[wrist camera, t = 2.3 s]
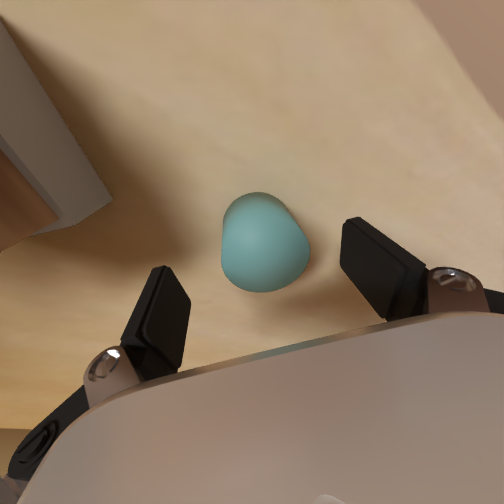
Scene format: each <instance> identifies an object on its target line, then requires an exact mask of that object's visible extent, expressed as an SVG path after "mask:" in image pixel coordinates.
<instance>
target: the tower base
mask: <svg viewBox="0 0 504 504" xmlns="http://www.w3.org/2000/svg"><path fill="white" fill-rule="evenodd" d="M0 149H1V150H2V151H3V152H4V154H5V155H6V156H7V157H8V158H9V160H10V161H11V162H12V163H13V164H14V165H15V167H16V168H17V169H18V170H19V171H20V172H21V174H22V175H23V176H24V177H25V178H26V180H27V181H28V182H29V183H30V184H31V185H32V187H33V188H34V189H35V190H36V191H37V192H38V194H39V195H40V196H41V197H42V198H43V200H44V201H45V202H46V203H47V204H48V205H49V207H50V208H51V209H52V210H53V211H54V212H55V214H56V215H57V216H58V217H59V218H60V219H58V220H57V221H55V222H53V223H51V224H50V225H48V226H46V227H44V228H42V229H41V230H39V231H37V232H35V233H33V234H32V235H30V236H33V235H37V234H42V233H46V232H50V231H54V230H58V229H63V228H67V227H71V226H75V225H76V224H78V223H79V222H81V221H82V220H84V219H85V218H87V217H88V216H90V215H91V214H93V213H94V212H96V211H97V210H99V209H101V208H102V207H104V206H105V205H107V204H108V203H110V202H111V201H113V198H112V197H111V195H110V194H109V192H108V190H107V189H106V187H105V186H104V184H103V182H102V181H101V179H100V178H99V176H98V174H97V173H96V171H95V170H94V168H93V167H92V165H91V163H90V162H89V160H88V159H87V157H86V155H85V154H84V152H83V151H82V149H81V147H80V146H79V144H78V143H77V141H76V140H75V138H74V136H73V135H72V133H71V132H70V130H69V128H68V127H67V125H66V124H65V122H64V120H63V119H62V117H61V116H60V114H59V112H58V111H57V109H56V108H55V106H54V105H53V103H52V101H51V100H50V98H49V97H48V95H47V93H46V92H45V90H44V89H43V87H42V85H41V84H40V82H39V81H38V79H37V78H36V76H35V74H34V73H33V71H32V70H31V68H30V66H29V65H28V63H27V62H26V60H25V58H24V57H23V55H22V54H21V52H20V50H19V49H18V47H17V46H16V44H15V43H14V41H13V39H12V38H11V36H10V35H9V33H8V31H7V30H6V28H5V27H4V25H3V23H2V22H1V20H0ZM28 237H29V236H28Z"/></svg>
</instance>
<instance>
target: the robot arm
mask: <svg viewBox="0 0 504 504" xmlns="http://www.w3.org/2000/svg"><path fill="white" fill-rule="evenodd" d="M340 266H341V268H342V269H343V271H344V272H345V273H346V275H347V276H348V277H349V278H350V280H351V281H352V282H353V283H354V285H355V286H356V287H357V288H358V290H359V291H360V292H361V293H362V295H363V296H364V297H365V298H366V300H367V301H368V302H369V303H370V305H371V306H372V307H373V309H374V310H375V311H376V312H377V314H378V315H379V316H380V317H381V318H385V319H386V320H387V322H386V323H381V324H377V325H372V326H368V327H364V328H360V329H355V330H351V331H347V332H343V333H338V334H334V335H330V336H326V337H321V338H317V339H313V340H309V341H305V342H300V343H296V344H292V345H288V346H284V347H280V348H275V349H271V350H267V351H263V352H259V353H255V354H251V355H246V356H242V357H238V358H234V359H230V360H226V361H222V362H218V363H214V364H210V365H206V366H202V367H198V368H194V369H190V370H186V371H182V372H178V373H177V371H178V368H180V366H181V364H182V358H183V352H184V346H185V340H186V334H187V327H188V321H189V315H190V309H191V301H190V299H189V297H188V295H187V294H186V292H185V290H184V289H183V287H182V286H181V284H180V282H179V281H178V279H177V278H176V276H175V274H174V273H173V271H172V269H171V268H170V267H167V266H165V265H163V266H159V267H155V268H153V269H152V271H151V273H150V276H149V278H148V280H147V282H146V284H145V286H144V289H143V291H142V293H141V295H140V297H139V300H138V302H137V304H136V306H135V308H134V311H133V313H132V315H131V317H130V319H129V321H128V324H127V326H126V328H125V330H124V332H123V335H122V337H121V339H120V340H121V344H120V346H113V347H110V348H108V349H106V350H104V351H103V352H101V353H100V354H99V355H98V356H96V357H95V358H94V359H93V361H92V362H91V363H90V364H89V366H88V367H87V369H86V371H85V374H84V377H83V382H84V385H82V386H81V387H80V388H79V389H78V390H77V391H76V392H75V393H73V394H72V395H71V396H70V397H69V398H68V399H67V400H65V401H64V402H63V403H62V404H61V405H60V406H59V407H58V408H56V409H55V410H54V411H53V412H52V413H51V414H50V415H49V416H47V417H46V418H45V419H44V420H43V421H42V422H41V423H39V424H38V425H37V426H36V427H35V428H34V429H33V430H32V431H31V432H30V433H29V434H28V435H27V436H26V437H25V438H24V440H23V441H22V442H21V444H20V445H19V446H18V448H17V449H16V451H15V452H14V454H13V456H12V458H11V461H10V463H9V467H8V473H7V474H6V475H5V476H2V475H0V504H504V293H502V292H498V291H494V290H489V289H485V288H483V285H482V284H481V282H480V281H479V280H478V279H477V278H476V277H475V276H473V275H471V274H470V273H468V272H465V271H463V270H460V269H456V268H452V267H436V268H433V269H431V270H428V269H427V268H426V267H425V266H426V264H424V263H423V262H422V261H420V260H419V259H417V258H416V257H415V256H413V255H412V254H411V253H409V252H408V251H406V250H405V249H404V248H402V247H401V246H399V245H398V244H397V243H395V242H394V241H392V240H391V239H390V238H388V237H387V236H386V235H384V234H383V233H381V232H380V231H379V230H377V229H376V228H374V227H373V226H372V225H370V224H369V223H368V222H366V221H365V220H363V219H362V218H361V217H355V218H351V219H347V220H346V222H345V223H344V224H343V227H342V240H341V252H340Z"/></svg>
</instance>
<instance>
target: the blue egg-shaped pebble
mask: <svg viewBox="0 0 504 504" xmlns="http://www.w3.org/2000/svg"><path fill="white" fill-rule="evenodd" d="M309 257H310V246H309V242H308V240H307V238H306V236H305V234H304V233H303V232H302V230H301V229H300V227H299V226H298V224H297V223H296V222H295V220H294V219H293V217H292V216H291V214H290V213H289V212H288V210H287V209H286V207H285V206H284V205H283V203H282V202H281V201H280V200H279V199H277V198H276V197H274V196H272V195H270V194H267V193H262V192H254V193H248V194H245V195H243V196H241V197H239V198H238V199H236V200H235V201H234V202H233V203H232V204H231V205H230V206H229V207H228V209H227V211H226V213H225V215H224V219H223V234H222V254H221V263H222V268H223V271H224V273H225V275H226V277H227V278H228V279H229V280H230V281H231V282H232V283H233V284H234V285H236V286H237V287H239V288H241V289H244V290H247V291H251V292H271V291H275V290H278V289H281V288H283V287H285V286H287V285H289V284H291V283H292V282H293V281H295V280H296V279H297V278H298V277H299V276H300V275H301V274H302V273H303V271H304V270H305V268H306V266H307V264H308V261H309Z"/></svg>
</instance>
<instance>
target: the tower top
mask: <svg viewBox="0 0 504 504" xmlns="http://www.w3.org/2000/svg"><path fill="white" fill-rule="evenodd" d="M58 219H60V218H59V217H58V216H57V215H56V214H55V212H54V211H53V210H52V209H51V208H50V207H49V205H48V204H47V203H46V202H45V201H44V200H43V198H42V197H41V196H40V195H39V194H38V192H37V191H36V190H35V189H34V188H33V187H32V185H31V184H30V183H29V182H28V181H27V180H26V178H25V177H24V176H23V175H22V174H21V172H20V171H19V170H18V169H17V168H16V167H15V165H14V164H13V163H12V162H11V161H10V160H9V158H8V157H7V156H6V155H5V154H4V152H3V151H2V150H1V149H0V252H1V251H3V250H5V249H7V248H8V247H10V246H12V245H14V244H16V243H17V242H19V241H21V240H23V239H25V238H26V237H28V236H30V235H32V234H33V233H35V232H37V231H39V230H41V229H42V228H44V227H46V226H48V225H50V224H51V223H53V222H55V221H57V220H58Z"/></svg>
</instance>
